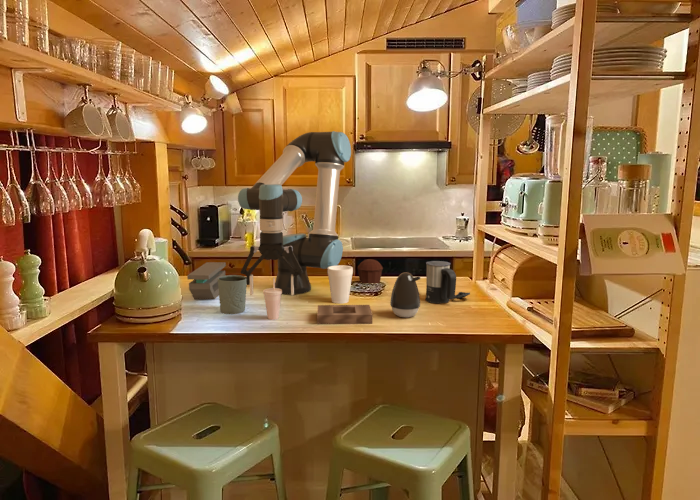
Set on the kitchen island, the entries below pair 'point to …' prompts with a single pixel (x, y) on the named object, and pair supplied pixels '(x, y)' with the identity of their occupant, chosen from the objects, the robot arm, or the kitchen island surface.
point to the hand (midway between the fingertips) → (272, 294)
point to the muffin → (370, 271)
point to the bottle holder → (344, 314)
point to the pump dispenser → (405, 296)
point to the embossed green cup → (232, 293)
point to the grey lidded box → (206, 280)
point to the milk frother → (441, 283)
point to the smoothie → (272, 301)
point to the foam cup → (340, 283)
